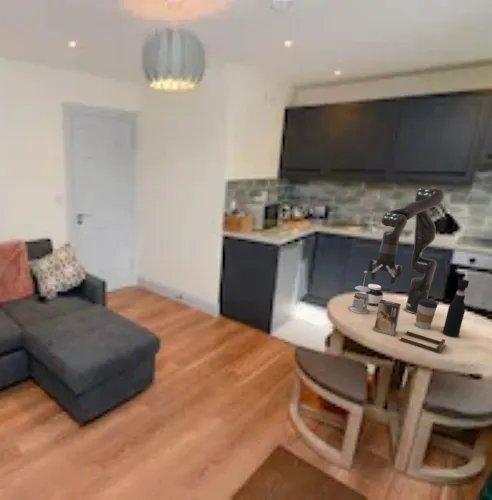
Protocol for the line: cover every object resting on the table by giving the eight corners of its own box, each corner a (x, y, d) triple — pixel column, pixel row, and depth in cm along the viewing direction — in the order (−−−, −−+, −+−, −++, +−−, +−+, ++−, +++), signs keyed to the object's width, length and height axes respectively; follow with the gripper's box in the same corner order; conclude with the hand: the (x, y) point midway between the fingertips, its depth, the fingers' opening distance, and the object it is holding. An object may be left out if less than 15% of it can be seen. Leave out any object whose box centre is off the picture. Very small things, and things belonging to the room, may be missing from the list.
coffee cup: (435, 330, 195) (441, 304, 191) (417, 329, 197) (423, 303, 193) (426, 323, 203) (432, 298, 199) (410, 322, 204) (415, 297, 201)
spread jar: (383, 306, 226) (386, 288, 223) (367, 307, 224) (370, 289, 221) (368, 298, 237) (371, 281, 234) (352, 299, 235) (355, 282, 232)
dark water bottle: (439, 331, 194) (452, 278, 186) (450, 331, 194) (463, 278, 187) (450, 337, 188) (464, 282, 180) (461, 337, 188) (476, 282, 180)
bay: (406, 333, 192) (407, 328, 191) (444, 345, 180) (445, 339, 180) (400, 340, 185) (401, 335, 184) (439, 353, 173) (440, 347, 172)
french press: (361, 306, 224) (368, 268, 218) (374, 315, 213) (381, 274, 207) (346, 306, 224) (352, 268, 217) (357, 315, 213) (364, 274, 206)
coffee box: (396, 331, 193) (401, 303, 189) (393, 336, 189) (399, 307, 185) (376, 326, 199) (381, 299, 195) (373, 330, 195) (378, 302, 191)
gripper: (406, 253, 186) (400, 283, 190) (374, 247, 196) (369, 276, 200) (402, 256, 181) (396, 286, 185) (370, 250, 191) (365, 279, 195)
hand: (382, 281), depth 193 cm, fingers open, 8 cm apart
